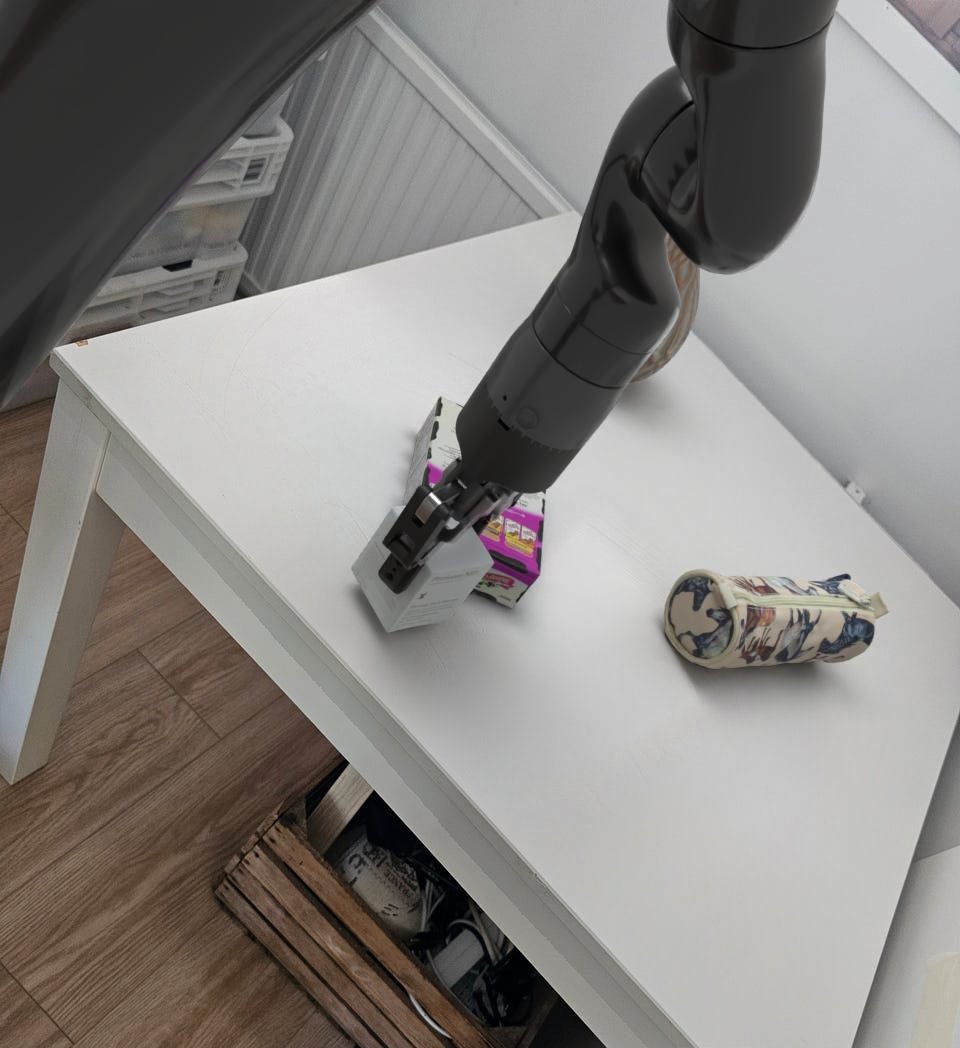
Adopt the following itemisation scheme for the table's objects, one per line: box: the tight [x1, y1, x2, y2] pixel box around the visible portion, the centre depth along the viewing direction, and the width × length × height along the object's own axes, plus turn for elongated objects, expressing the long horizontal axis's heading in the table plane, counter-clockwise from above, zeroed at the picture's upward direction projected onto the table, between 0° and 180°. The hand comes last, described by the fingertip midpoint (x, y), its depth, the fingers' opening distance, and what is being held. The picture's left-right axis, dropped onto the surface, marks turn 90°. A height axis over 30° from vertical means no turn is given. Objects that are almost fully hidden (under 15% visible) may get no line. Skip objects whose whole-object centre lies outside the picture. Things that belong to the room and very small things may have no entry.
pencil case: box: [663, 568, 890, 670], centre depth 95 cm, size 22×8×10 cm, turn 112°
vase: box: [628, 236, 701, 385], centre depth 110 cm, size 13×13×18 cm
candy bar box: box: [402, 395, 547, 609], centre depth 87 cm, size 11×5×16 cm
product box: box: [350, 505, 494, 633], centre depth 75 cm, size 6×6×7 cm
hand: (422, 563), depth 75 cm, fingers closed on product box, 7 cm apart
